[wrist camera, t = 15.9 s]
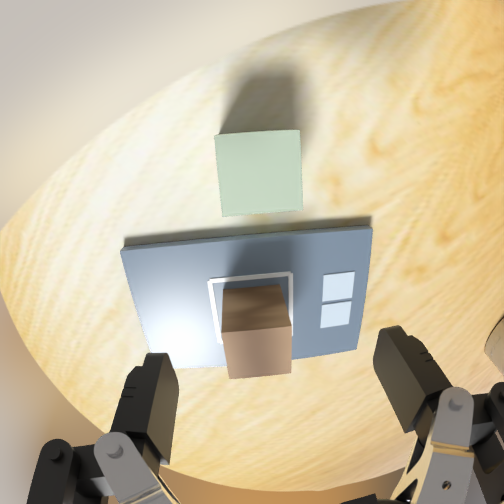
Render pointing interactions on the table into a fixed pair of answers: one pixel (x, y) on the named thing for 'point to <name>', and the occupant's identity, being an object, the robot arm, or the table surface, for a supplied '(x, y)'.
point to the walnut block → (256, 332)
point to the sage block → (259, 172)
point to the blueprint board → (250, 275)
